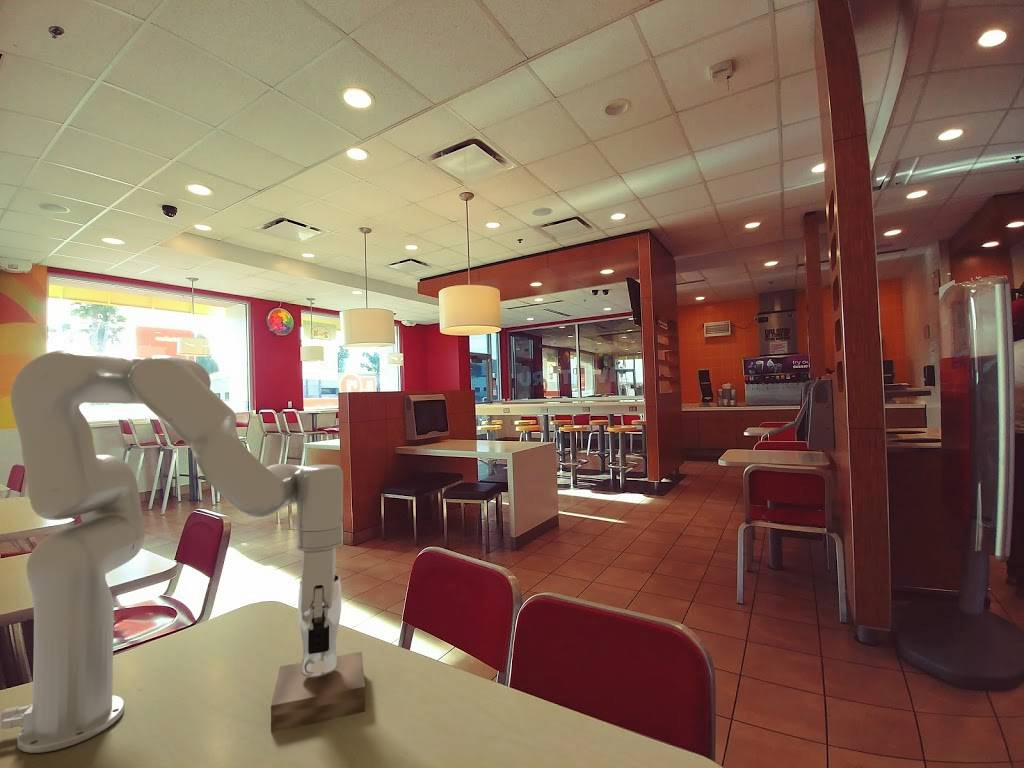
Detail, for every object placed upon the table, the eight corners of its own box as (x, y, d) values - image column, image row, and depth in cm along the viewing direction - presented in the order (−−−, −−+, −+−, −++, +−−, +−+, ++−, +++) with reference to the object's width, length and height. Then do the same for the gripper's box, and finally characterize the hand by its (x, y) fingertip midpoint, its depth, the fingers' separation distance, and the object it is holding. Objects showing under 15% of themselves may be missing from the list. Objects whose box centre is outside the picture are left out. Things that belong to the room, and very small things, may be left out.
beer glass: (348, 658, 86) (348, 573, 87) (329, 680, 79) (329, 587, 80) (310, 657, 87) (311, 572, 88) (289, 678, 80) (290, 586, 81)
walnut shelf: (270, 732, 75) (271, 705, 75) (280, 689, 86) (280, 666, 86) (365, 711, 80) (364, 686, 80) (361, 673, 91) (361, 651, 91)
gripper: (300, 527, 91) (299, 624, 90) (291, 553, 74) (291, 672, 74) (342, 523, 93) (342, 617, 93) (343, 548, 77) (342, 663, 76)
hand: (319, 641), depth 83 cm, fingers closed on beer glass, 6 cm apart
